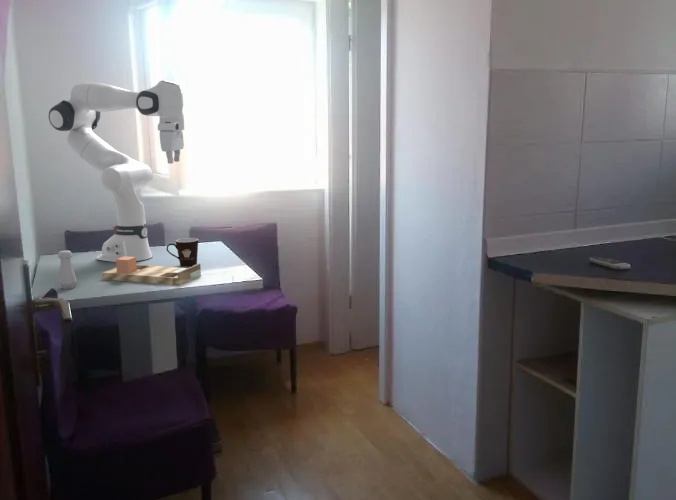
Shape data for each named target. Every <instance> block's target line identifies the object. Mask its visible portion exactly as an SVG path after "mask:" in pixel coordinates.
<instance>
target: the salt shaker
mask: <svg viewBox="0 0 676 500" xmlns="http://www.w3.org/2000/svg"><path fill="white" fill-rule="evenodd" d="M57 256H58V257H57V258H59V260H60V262H59V263H60V265H59V273H58V284H59V285H60V287H61V289H62V290H72V289H74V288H76V285H77V282H78V279H77V276H76V272H75V270H74V266H73V262H72V260H71V258H72V257H73V253H72V251H70V250H67V249H66V250H60V251H59V252H58V253H57Z"/></svg>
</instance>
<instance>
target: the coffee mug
mask: <svg viewBox="0 0 676 500" xmlns="http://www.w3.org/2000/svg"><path fill="white" fill-rule="evenodd" d="M170 246H174V247H175V249H176V250H177V255H178V256H177V255H175V254H173V253H172V252H170V251H169V247H170ZM165 250H166V252H167V253H168V254H170V255H171V256H173V257H174V258H176V259H178V261H179V265H180V266H179V267H181V268H189V267H191V266H194V265H196V264H198V250H199V238H195V237H185V238H178V239H176V240H175V243H169V244H167V245H166V249H165Z"/></svg>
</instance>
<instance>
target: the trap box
mask: <svg viewBox="0 0 676 500" xmlns="http://www.w3.org/2000/svg"><path fill="white" fill-rule="evenodd" d="M201 270H202V269H201V263H197V264H196V265H194V266H192V267H176V266H164V265H163V266H161V265H147V264H137V271H135V272H132V273H129V274H125V273H117V269H116V267H113V268H111V269H108V270H105V271H103V272H101V273H102V275H101V276H102V280H108V281H119V282H120V281H121V282H133V283H134V282H135V283H145V284H147V283H148V284H157V285H158V284H159V285H172V286H182V285H184V284H186V283H188V281H189V282H191V281H193V280H194V279H197V278H199V277H201V276H202V274H201V273H202V271H201ZM190 280H191V281H190Z"/></svg>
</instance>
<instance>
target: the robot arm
mask: <svg viewBox="0 0 676 500" xmlns="http://www.w3.org/2000/svg"><path fill="white" fill-rule="evenodd" d="M183 108H184V96H183V90H182V86H181V85H180V83H178V82H177V81H172V80H165V79H164V80H163V79H161V80H159V81H158V82H157V84H155V85H154V86H152V87H150V88H147V89H145V90H141V91H134V90H128V89H126V88H121V87H120V86H119V87H118V86H115V85H111V84H108V83H104V82H97V81H96V82H95V81H88V82H87V81H86V82H85V81H84V82H79V83H76V84H74V85H73V86H72V88H71V90H70V98H69V100H65V99H62V101H60V102H58V103H57V104H55V105H54V106H52V107H51V108H50V110H49V111H48V121H49V123H50V125H51V126H52V127H53V129H55V130H56V131H60V132H68V131H69V132H68V134H67V138H66V141H67V143H68V145H69V147H70V148H71V149H72V151H73V152H74V153H76V154H77V156H79V157H80V158H81V159H82V160H83V161H85V162H86V163H87V164H89V165H90V166H91V167H92V168H94V169H95V170H96V171H98V172H100V173H101V174H100V175H101V176H100V181H101V186H103V188H104V189H105V190H106V191H107V192H108V193H109V195H110V196H111V197H112V200H113V203H114V206H115V213H116V221H117V222H116V225H115V226H112V227H111V230H112V231H114V234H113V235H112V236H110V237H109V238H108V239H107V240H106V241H104V242H103V244H102V247H101V254H99V255H97V256H96V260H97V261H98V260H99V261H105V262H113V263H116V259H118V258H121V257H124V256H126V257H136V262H140V261H145V260H149V259H151V258H153V254H152V251H151V248H150V244H149V240H148V225H147V222H146V211H145V205H144V203H143V202H142V201H140V198H139V197H138V194H137V190H141V189H143V188H145V187H147V186H148V185H150V184H151V183H152V182H153V178H154V175H153V171H152V168H151V167H150V166H149V165H148V164H146V163H143V162H140V161H137V160H135V159H133V158H131V157H130V156H128V155H126V154H125V153H122V152H120V151H119V150H116V149H115V148H113V147H112V146H111V145H110V144H109V143H107V142H106V141H104V139H102V138H101V137H100V136H98V135H97V134H96V133H94V132H93V130H94V129H96V128H97V127H98V123H99V121H100V118H101V112H102V113H103V112H105V113H106V112H114V111H115V112H116V111H121V110H123V111H124V110H130V109H131V110H132V109H136V110H138V112H139V113H140V114H141V115H144V116H146V117H159V122H158V124H157V131H158V132H159V142H160V143H159V144H160V148H161V151H162V152H163V153H164V152H165V156H166V159H167V164H169V165H170V164H174V163H175V162H176V163H177V162H180V161H181V160H180V157H181V156H180V155H181V150H183V149H184V148H185V145H184V133H183V131H184V130H185V117H184V112H183ZM173 155H174V156H173Z"/></svg>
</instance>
